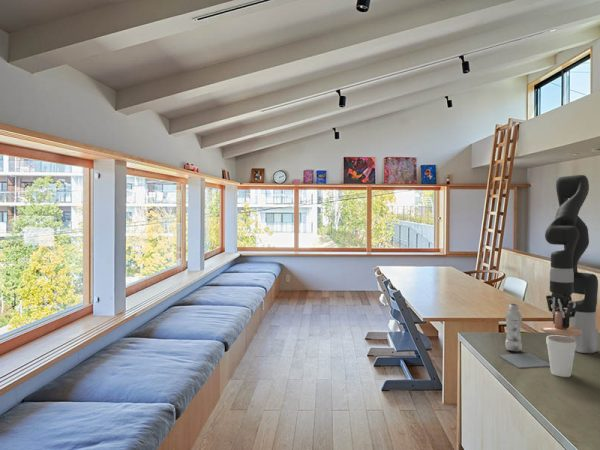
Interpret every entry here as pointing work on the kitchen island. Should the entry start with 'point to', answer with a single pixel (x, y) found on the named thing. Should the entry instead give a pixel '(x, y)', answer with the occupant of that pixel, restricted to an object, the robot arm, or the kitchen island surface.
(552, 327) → the lid
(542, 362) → the mat
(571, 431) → the kitchen island surface
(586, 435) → the kitchen island surface
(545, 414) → the kitchen island surface
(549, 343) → the foam cup
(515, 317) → the plastic bottle
